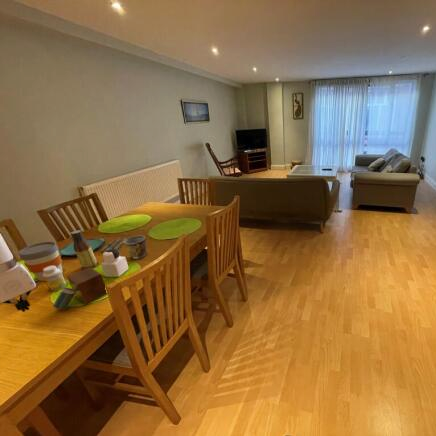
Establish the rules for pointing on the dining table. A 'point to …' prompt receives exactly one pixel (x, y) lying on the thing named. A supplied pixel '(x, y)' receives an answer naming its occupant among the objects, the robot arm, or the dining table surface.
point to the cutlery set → (92, 242)
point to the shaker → (64, 298)
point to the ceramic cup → (136, 246)
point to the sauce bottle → (83, 250)
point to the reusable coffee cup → (41, 258)
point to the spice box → (87, 285)
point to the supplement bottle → (53, 278)
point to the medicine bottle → (113, 263)
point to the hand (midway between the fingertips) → (24, 309)
